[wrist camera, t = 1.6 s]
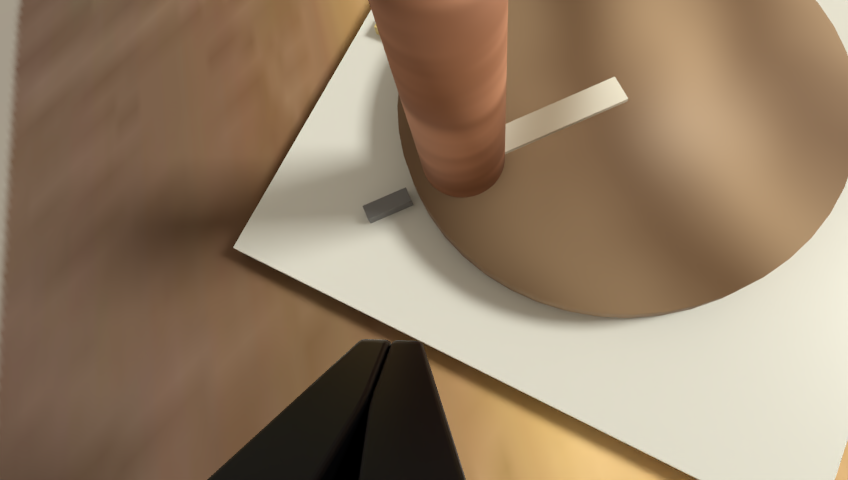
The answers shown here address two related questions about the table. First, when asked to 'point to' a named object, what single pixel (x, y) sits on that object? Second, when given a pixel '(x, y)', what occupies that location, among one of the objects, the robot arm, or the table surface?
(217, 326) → the table surface
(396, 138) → the dial plate
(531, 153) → the dial
